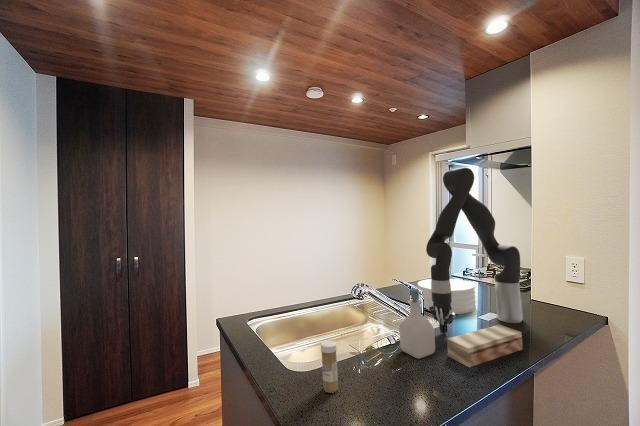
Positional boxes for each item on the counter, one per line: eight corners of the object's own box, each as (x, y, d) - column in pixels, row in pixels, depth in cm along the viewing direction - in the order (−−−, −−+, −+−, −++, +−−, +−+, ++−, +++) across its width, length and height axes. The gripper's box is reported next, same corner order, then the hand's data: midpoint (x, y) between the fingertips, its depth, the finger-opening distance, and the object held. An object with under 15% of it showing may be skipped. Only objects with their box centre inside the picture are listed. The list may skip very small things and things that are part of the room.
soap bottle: (418, 361, 97) (414, 293, 98) (398, 351, 106) (394, 288, 106) (438, 354, 102) (434, 289, 102) (417, 344, 110) (413, 284, 111)
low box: (499, 340, 110) (498, 324, 110) (522, 349, 102) (521, 332, 102) (447, 356, 100) (446, 338, 100) (469, 367, 92) (467, 348, 92)
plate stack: (410, 308, 154) (409, 286, 154) (429, 295, 175) (428, 276, 175) (468, 317, 136) (466, 293, 136) (481, 302, 157) (480, 281, 157)
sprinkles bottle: (319, 391, 84) (317, 344, 84) (329, 383, 87) (327, 338, 88) (332, 396, 81) (329, 348, 81) (341, 388, 84) (339, 342, 85)
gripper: (461, 292, 114) (464, 336, 114) (435, 286, 126) (438, 326, 126) (447, 295, 111) (449, 340, 111) (422, 288, 123) (424, 329, 123)
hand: (443, 332), depth 119 cm, fingers closed
